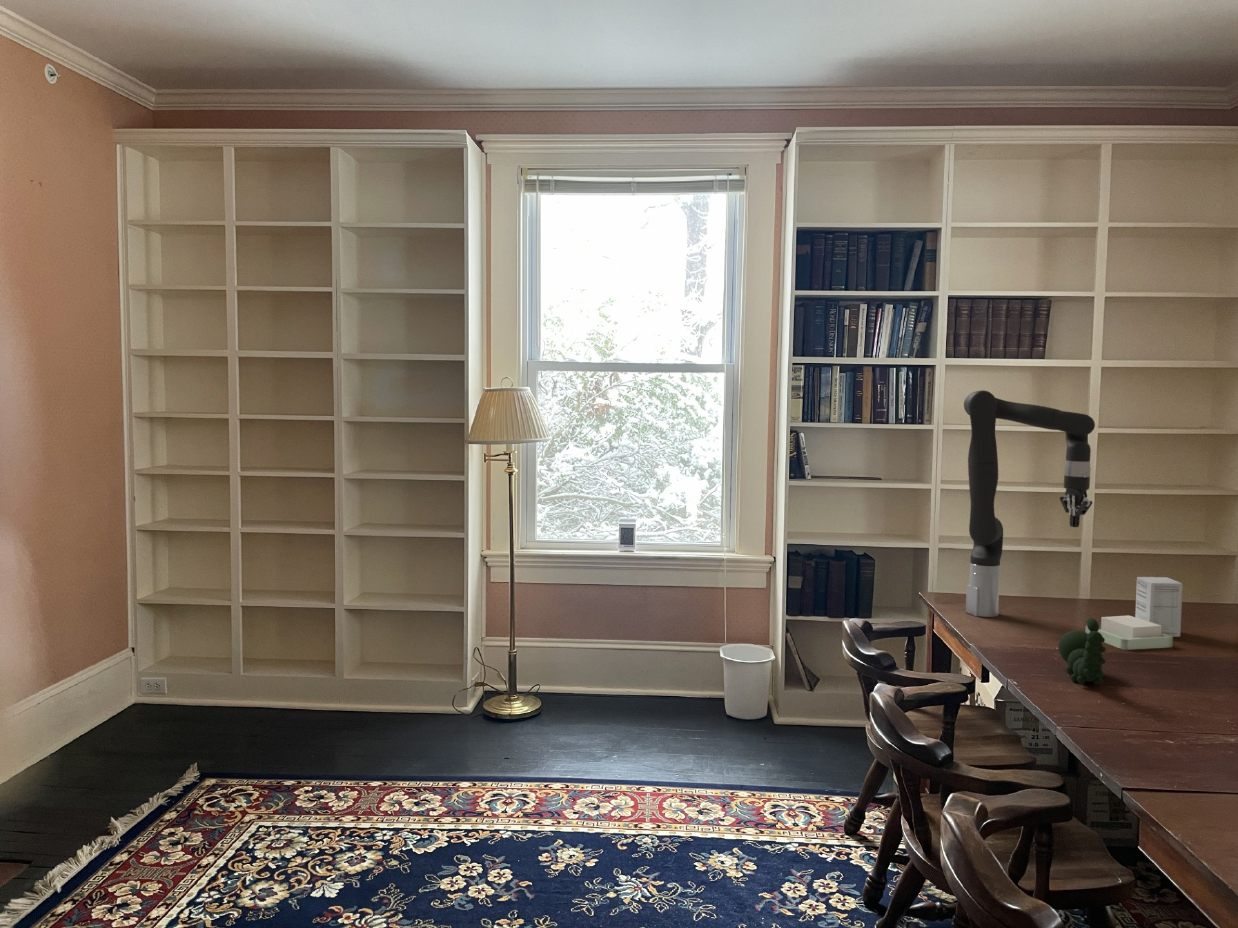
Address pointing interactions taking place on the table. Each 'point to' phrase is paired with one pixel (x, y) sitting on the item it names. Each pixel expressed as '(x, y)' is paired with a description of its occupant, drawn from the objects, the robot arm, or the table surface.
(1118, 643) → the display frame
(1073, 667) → the toy figurine
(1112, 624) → the carton
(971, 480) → the robot arm
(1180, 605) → the supplement box
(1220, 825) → the table surface
